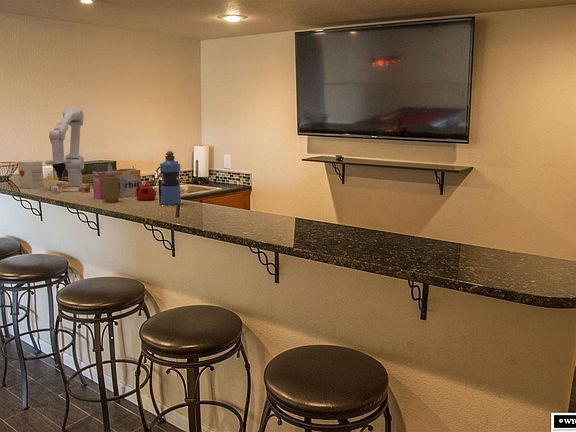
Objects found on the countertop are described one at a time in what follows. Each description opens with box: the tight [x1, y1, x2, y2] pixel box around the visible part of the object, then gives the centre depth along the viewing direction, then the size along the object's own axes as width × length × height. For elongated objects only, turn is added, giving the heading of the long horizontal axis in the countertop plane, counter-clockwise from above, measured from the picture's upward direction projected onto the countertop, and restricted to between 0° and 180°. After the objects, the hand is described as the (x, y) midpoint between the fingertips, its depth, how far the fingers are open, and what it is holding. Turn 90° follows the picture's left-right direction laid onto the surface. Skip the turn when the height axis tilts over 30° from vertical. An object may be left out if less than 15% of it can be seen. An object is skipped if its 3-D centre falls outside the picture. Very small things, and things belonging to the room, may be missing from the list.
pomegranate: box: [135, 181, 157, 201], centre depth 244 cm, size 10×10×9 cm
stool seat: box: [56, 182, 93, 194], centre depth 269 cm, size 20×20×3 cm
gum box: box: [92, 168, 142, 200], centre depth 252 cm, size 24×8×14 cm, turn 135°
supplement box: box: [17, 159, 45, 190], centre depth 275 cm, size 9×9×15 cm
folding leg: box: [49, 185, 63, 193], centre depth 264 cm, size 8×3×3 cm, turn 59°
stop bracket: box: [51, 188, 61, 195], centre depth 257 cm, size 2×4×3 cm, turn 59°
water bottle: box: [159, 150, 182, 206], centre depth 232 cm, size 9×9×25 cm
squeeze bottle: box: [102, 163, 120, 203], centre depth 235 cm, size 8×8×18 cm
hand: (59, 177), depth 267 cm, fingers closed
